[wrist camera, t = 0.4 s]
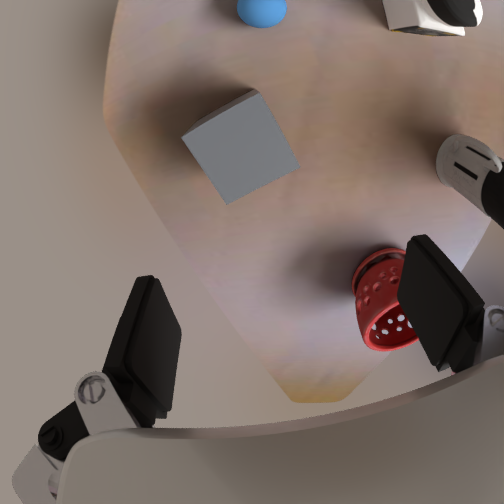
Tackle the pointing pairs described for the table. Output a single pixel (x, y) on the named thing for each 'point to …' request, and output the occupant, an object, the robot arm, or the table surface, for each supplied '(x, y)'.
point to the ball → (261, 12)
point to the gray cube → (240, 147)
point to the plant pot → (381, 301)
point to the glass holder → (473, 173)
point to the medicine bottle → (432, 16)
